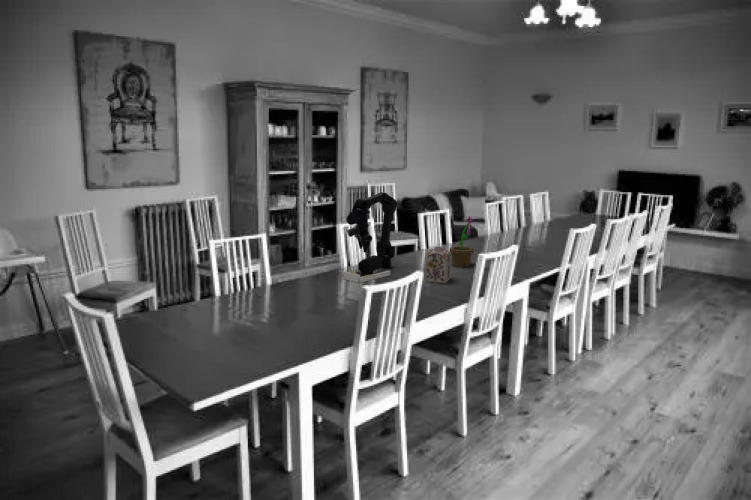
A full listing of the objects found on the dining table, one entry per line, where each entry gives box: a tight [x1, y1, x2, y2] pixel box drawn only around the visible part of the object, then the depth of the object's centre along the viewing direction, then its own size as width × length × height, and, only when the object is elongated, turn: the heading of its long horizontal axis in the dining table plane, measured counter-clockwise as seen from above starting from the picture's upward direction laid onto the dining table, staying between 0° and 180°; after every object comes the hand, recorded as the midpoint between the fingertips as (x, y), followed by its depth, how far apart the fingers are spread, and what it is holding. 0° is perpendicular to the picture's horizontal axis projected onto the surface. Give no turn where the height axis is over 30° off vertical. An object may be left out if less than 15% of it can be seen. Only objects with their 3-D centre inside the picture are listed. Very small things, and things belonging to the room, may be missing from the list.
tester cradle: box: [342, 269, 391, 284], centre depth 312 cm, size 24×12×5 cm, turn 136°
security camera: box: [357, 254, 383, 277], centre depth 313 cm, size 7×18×10 cm, turn 152°
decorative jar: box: [424, 245, 452, 284], centre depth 307 cm, size 12×12×18 cm
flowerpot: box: [449, 215, 475, 269], centre depth 340 cm, size 14×14×30 cm
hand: (362, 250), depth 316 cm, fingers open, 9 cm apart
